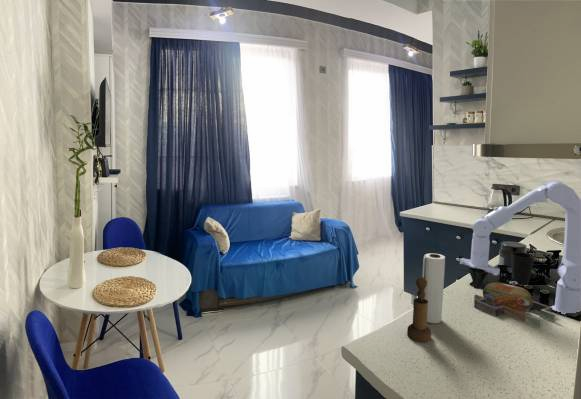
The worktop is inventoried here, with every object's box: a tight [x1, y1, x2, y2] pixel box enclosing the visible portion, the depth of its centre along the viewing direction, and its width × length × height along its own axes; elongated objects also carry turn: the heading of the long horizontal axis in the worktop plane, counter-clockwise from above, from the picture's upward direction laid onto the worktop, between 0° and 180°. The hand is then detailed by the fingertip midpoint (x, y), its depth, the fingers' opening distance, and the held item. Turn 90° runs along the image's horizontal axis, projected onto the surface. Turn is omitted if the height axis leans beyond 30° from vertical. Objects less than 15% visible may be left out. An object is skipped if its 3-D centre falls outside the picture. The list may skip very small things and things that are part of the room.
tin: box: [482, 281, 534, 314], centre depth 130 cm, size 15×3×8 cm, turn 44°
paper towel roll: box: [422, 253, 446, 324], centre depth 121 cm, size 7×6×21 cm
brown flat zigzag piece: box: [473, 294, 556, 329], centre depth 128 cm, size 17×22×2 cm
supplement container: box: [497, 241, 528, 268], centre depth 166 cm, size 10×10×12 cm
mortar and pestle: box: [407, 276, 432, 343], centre depth 111 cm, size 7×6×18 cm
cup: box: [511, 252, 535, 285], centre depth 150 cm, size 8×8×12 cm
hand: (477, 288), depth 139 cm, fingers closed
